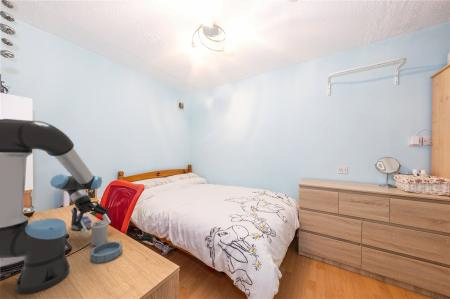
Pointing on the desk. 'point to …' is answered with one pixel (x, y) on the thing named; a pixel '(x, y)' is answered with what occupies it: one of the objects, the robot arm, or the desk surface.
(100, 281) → the desk surface
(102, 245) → the bowl
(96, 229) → the can
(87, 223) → the mineral
